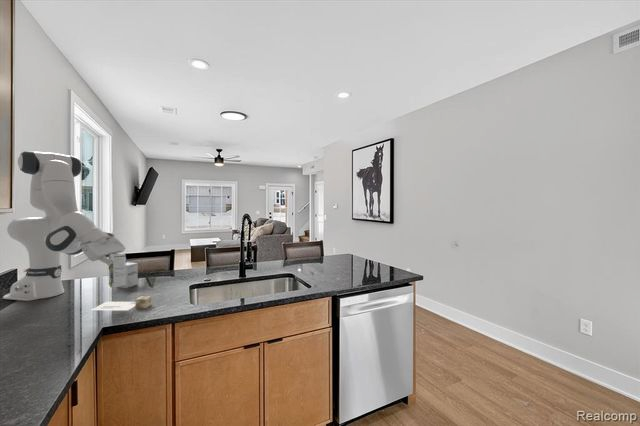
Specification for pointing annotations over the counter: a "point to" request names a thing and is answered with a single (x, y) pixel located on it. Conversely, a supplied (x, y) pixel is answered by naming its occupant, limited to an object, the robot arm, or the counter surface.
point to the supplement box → (131, 275)
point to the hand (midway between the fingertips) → (118, 262)
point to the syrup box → (117, 270)
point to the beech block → (143, 302)
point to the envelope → (115, 306)
